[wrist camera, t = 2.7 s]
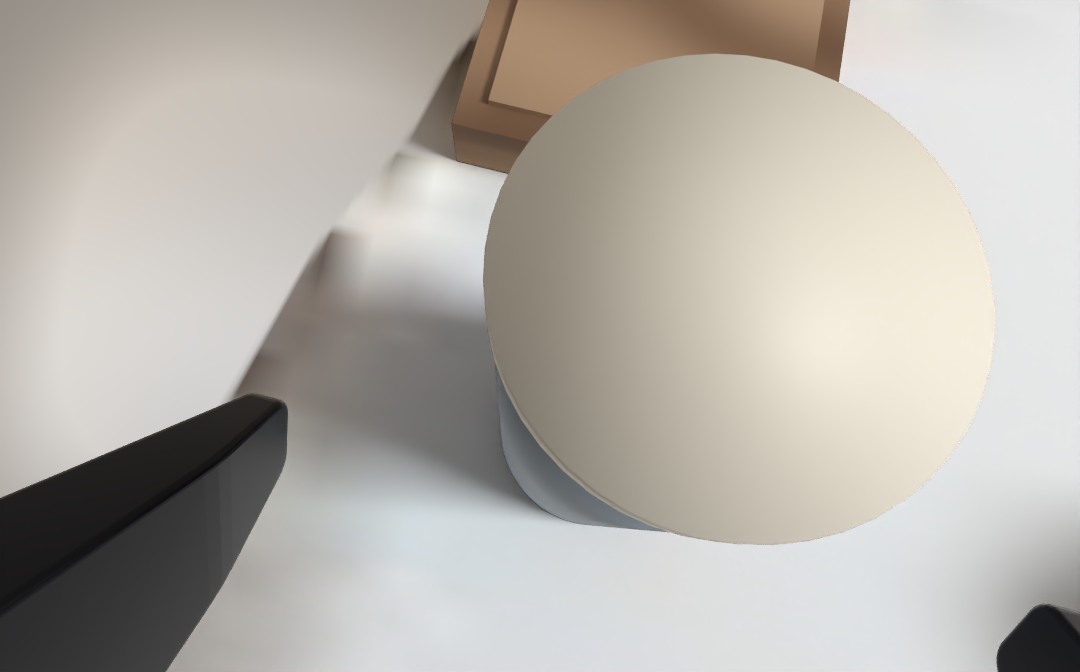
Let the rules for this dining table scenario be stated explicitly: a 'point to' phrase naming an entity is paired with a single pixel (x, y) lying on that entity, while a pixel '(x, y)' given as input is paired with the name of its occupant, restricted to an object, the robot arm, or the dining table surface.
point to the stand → (616, 55)
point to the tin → (732, 305)
